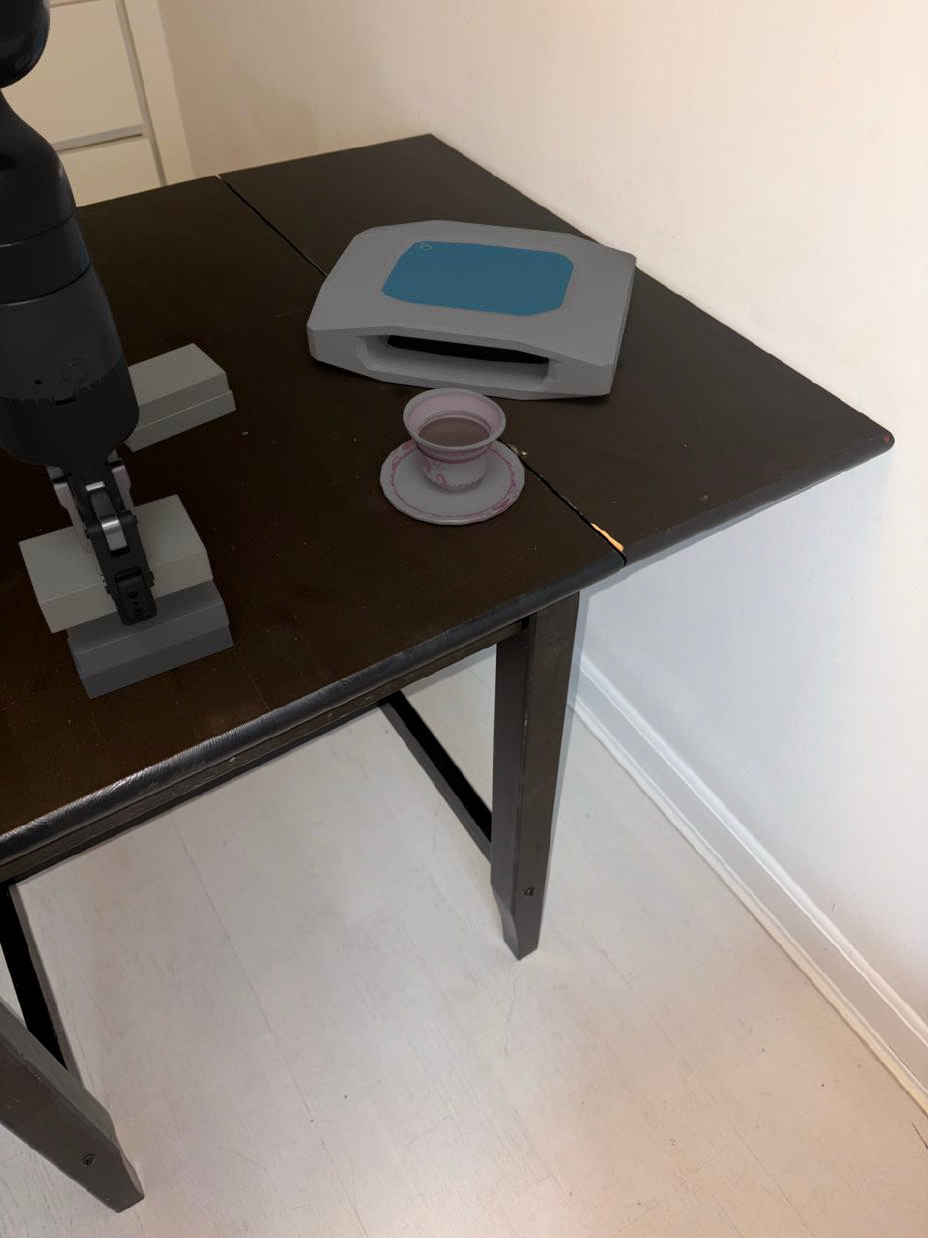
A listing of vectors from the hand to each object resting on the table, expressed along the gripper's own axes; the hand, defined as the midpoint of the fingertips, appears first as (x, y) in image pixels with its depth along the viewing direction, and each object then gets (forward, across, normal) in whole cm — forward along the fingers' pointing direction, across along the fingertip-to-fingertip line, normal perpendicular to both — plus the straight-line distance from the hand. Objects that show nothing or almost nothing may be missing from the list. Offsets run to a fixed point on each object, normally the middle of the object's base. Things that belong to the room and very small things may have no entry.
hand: (125, 584), depth 61 cm
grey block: (+7, -27, +10) cm, 29 cm away
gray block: (+7, 0, 0) cm, 7 cm away
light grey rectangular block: (-1, 0, 0) cm, 1 cm away
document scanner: (+6, -26, +40) cm, 48 cm away
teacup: (+7, -7, +27) cm, 29 cm away
